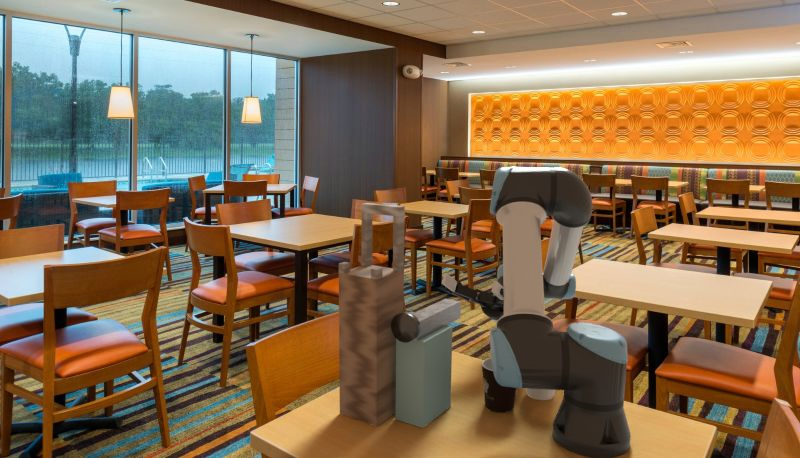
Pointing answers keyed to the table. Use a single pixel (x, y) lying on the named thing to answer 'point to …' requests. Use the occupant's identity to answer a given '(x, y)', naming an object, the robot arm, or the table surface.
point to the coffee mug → (496, 391)
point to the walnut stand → (370, 324)
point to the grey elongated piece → (425, 320)
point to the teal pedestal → (424, 377)
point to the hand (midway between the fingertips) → (468, 282)
